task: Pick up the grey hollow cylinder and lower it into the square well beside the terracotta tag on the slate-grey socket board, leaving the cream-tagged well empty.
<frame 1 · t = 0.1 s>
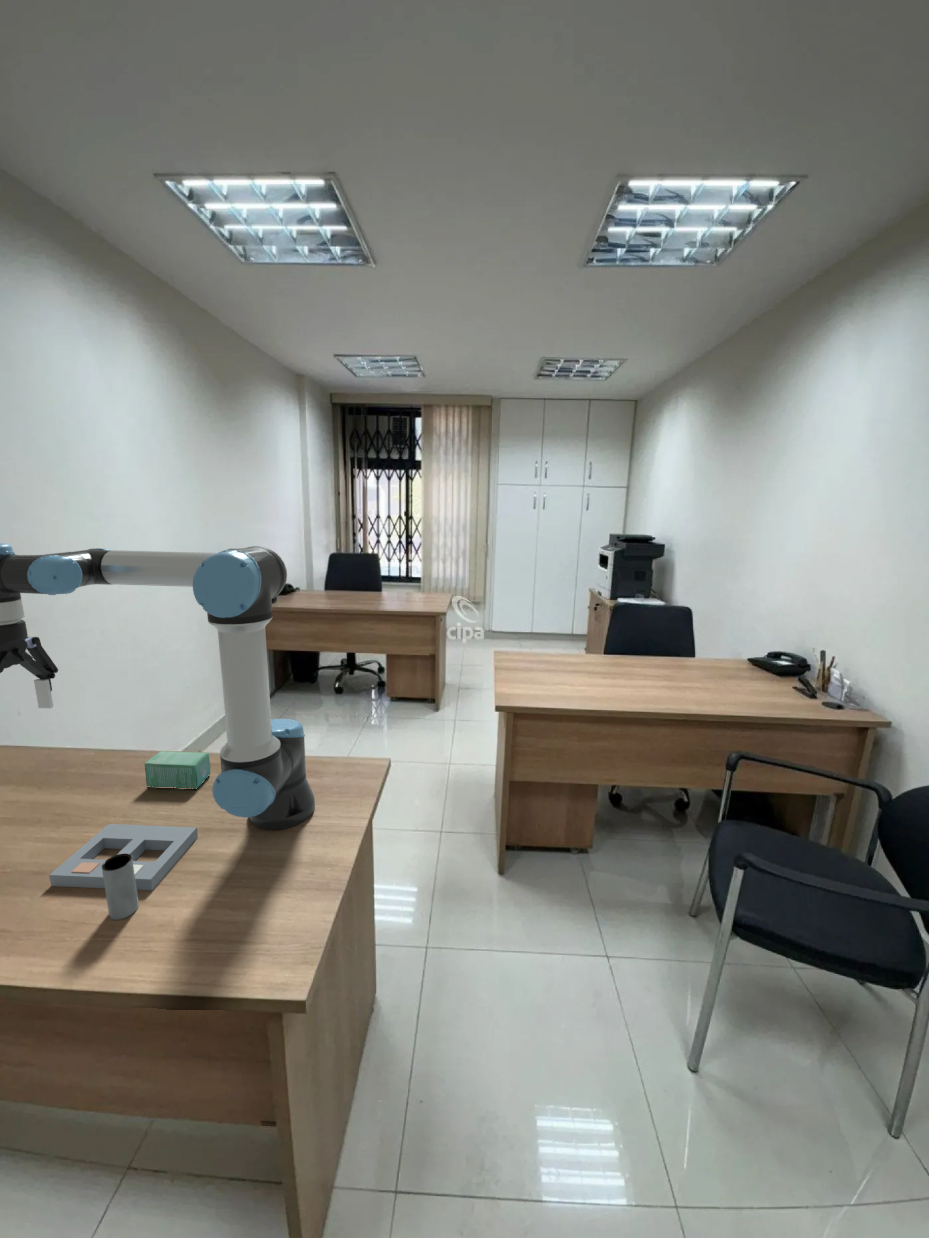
hand: (18, 720, 105), 28 cm above the table, fingers open, 13 cm apart
grey hollow cylinder: (124, 911, 93), on the table
socket board: (129, 859, 105), on the table
box: (180, 783, 135), on the table
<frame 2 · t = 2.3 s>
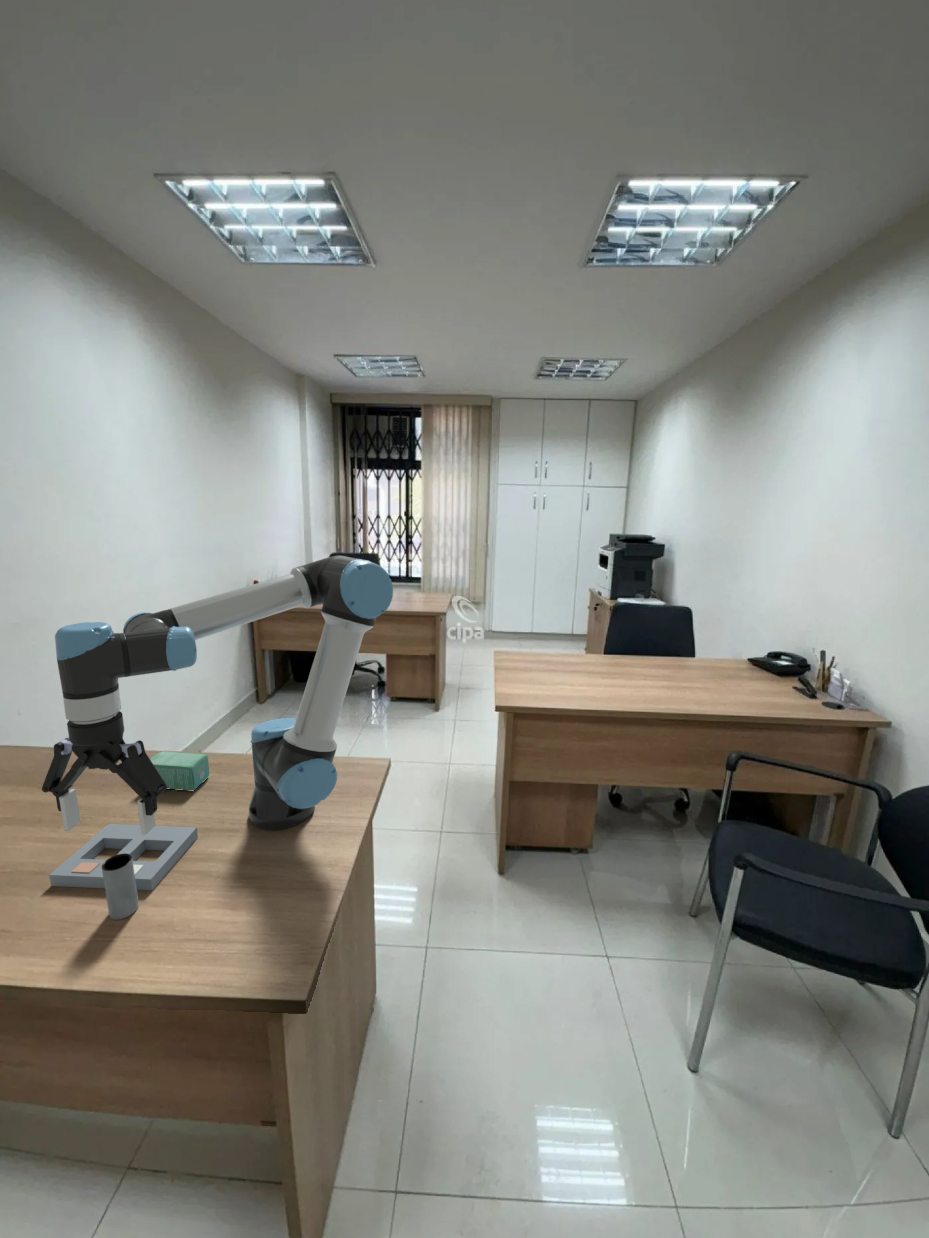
hand: (110, 828, 89), 17 cm above the table, fingers open, 13 cm apart
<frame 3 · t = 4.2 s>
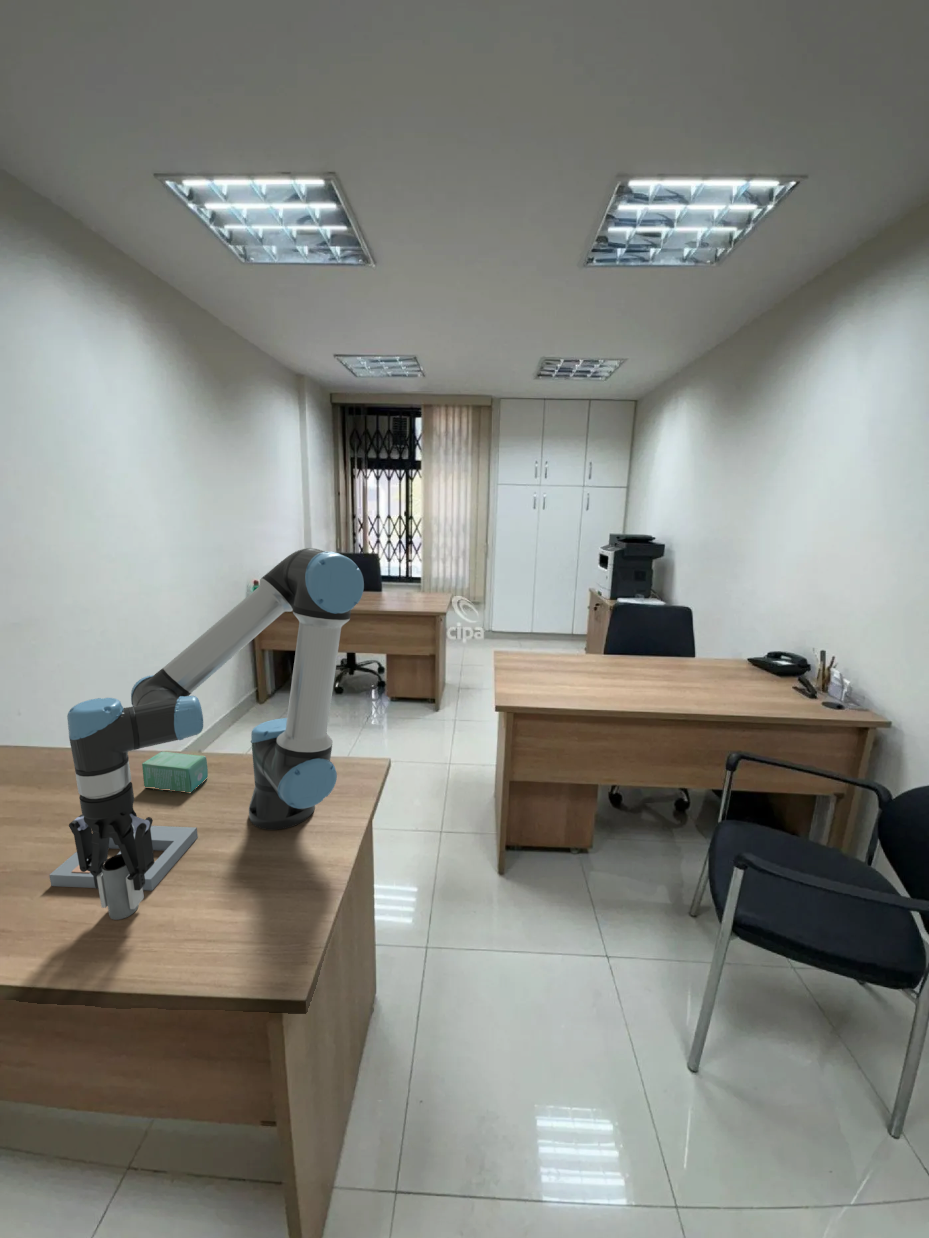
hand: (123, 902, 92), 2 cm above the table, fingers closed on grey hollow cylinder, 4 cm apart
grey hollow cylinder: (124, 911, 93), on the table, touching gripper
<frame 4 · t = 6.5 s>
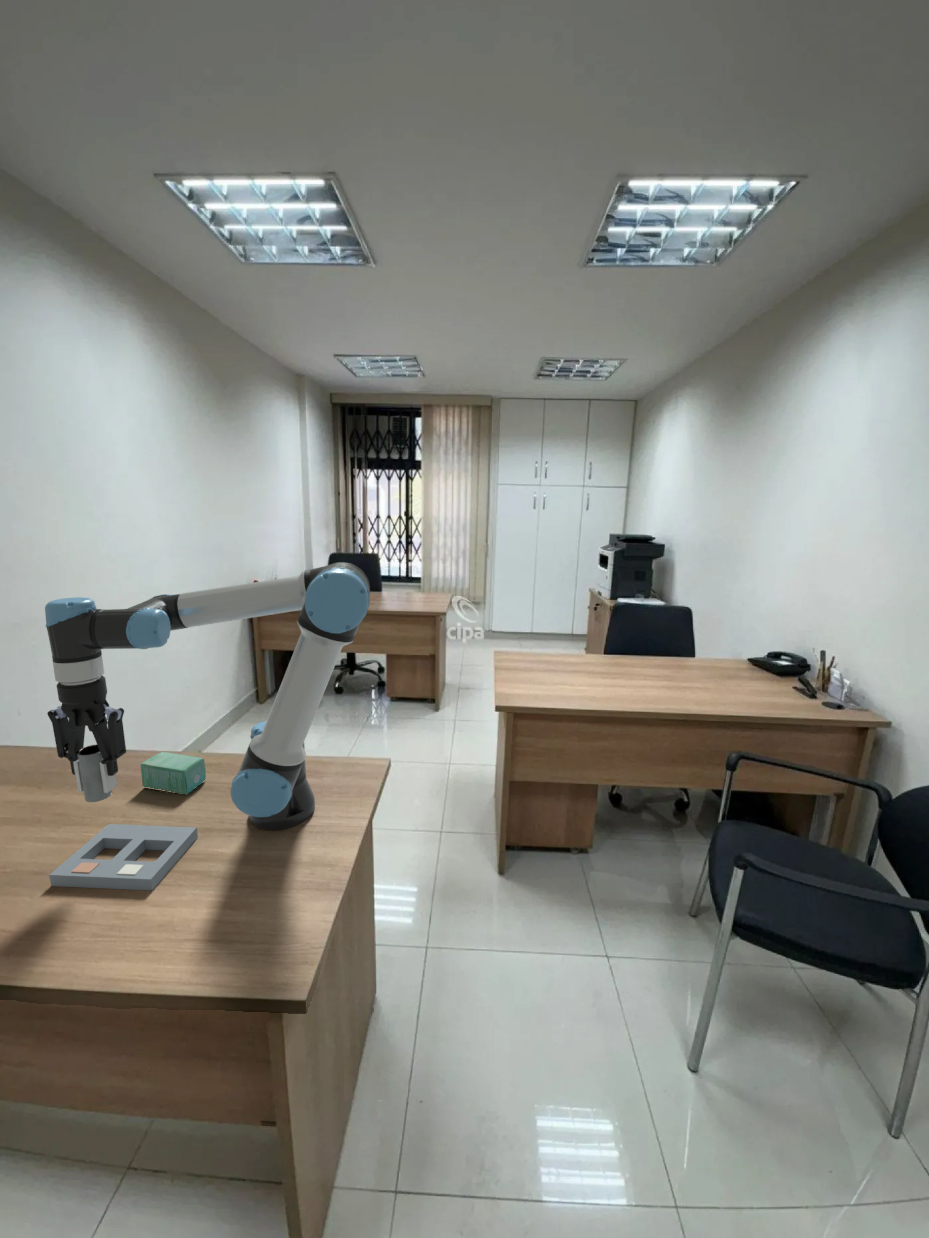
hand: (97, 788, 101), 17 cm above the table, fingers closed on grey hollow cylinder, 4 cm apart
grey hollow cylinder: (98, 797, 102), point 15 cm above the table, touching gripper
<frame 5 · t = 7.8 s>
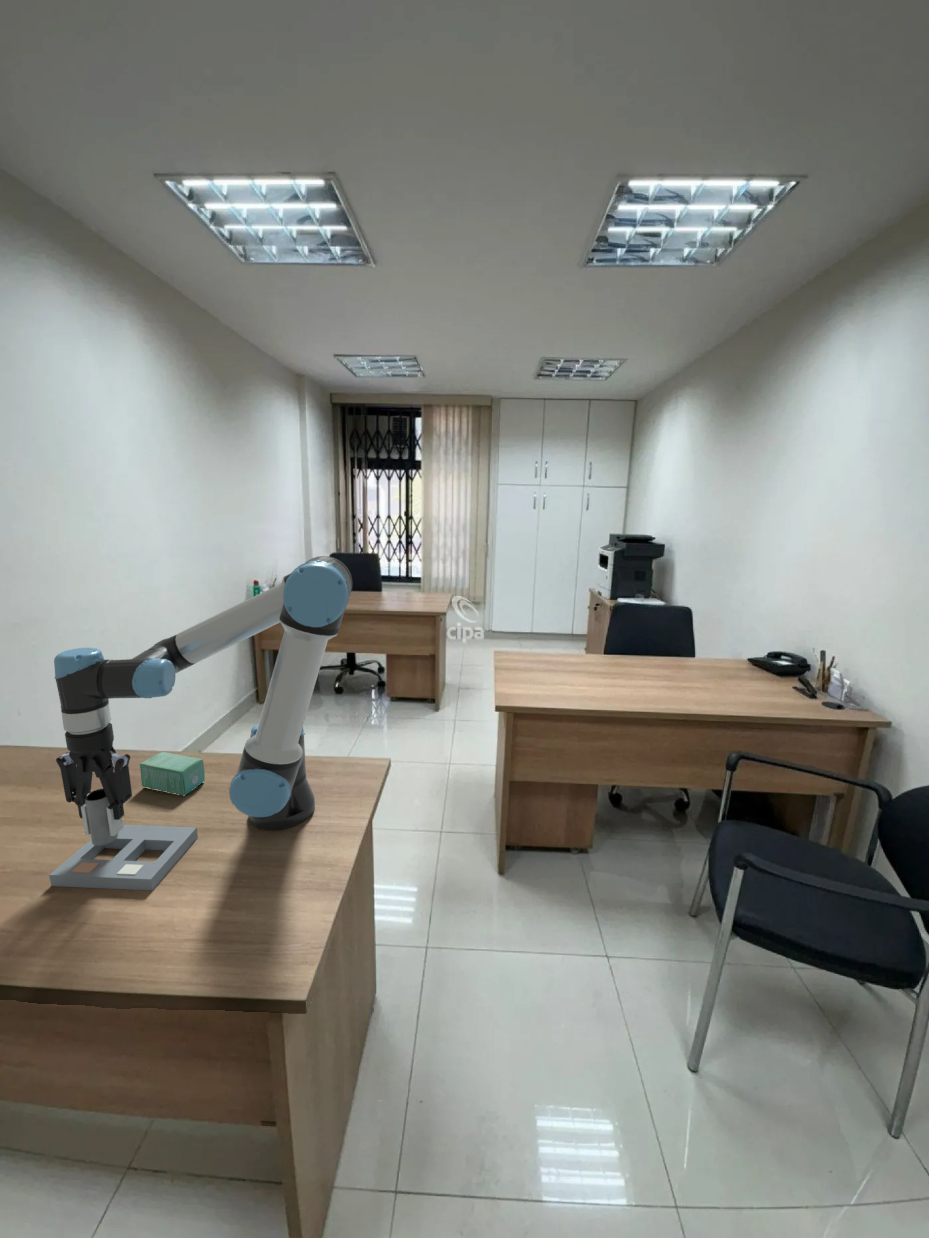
hand: (104, 831, 104), 7 cm above the table, fingers closed on grey hollow cylinder, 4 cm apart
grey hollow cylinder: (105, 839, 104), point 5 cm above the table, touching gripper
when the fingers open (3 cm above the table, at t = 8.6 s): grey hollow cylinder drops 2 cm, resting in socket board.
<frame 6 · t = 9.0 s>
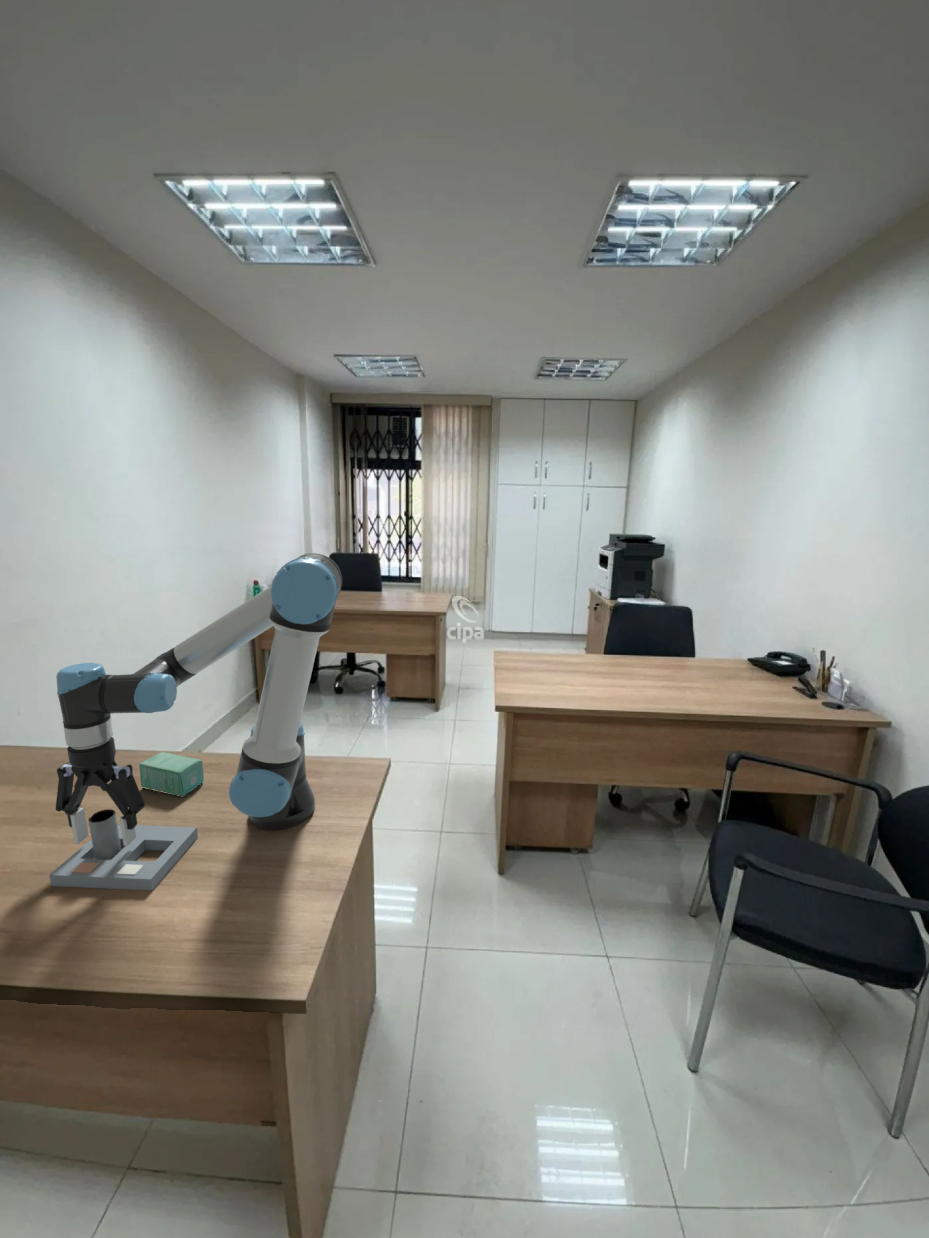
hand: (105, 840, 105), 4 cm above the table, fingers open, 9 cm apart
grey hollow cylinder: (108, 860, 105), resting in socket board
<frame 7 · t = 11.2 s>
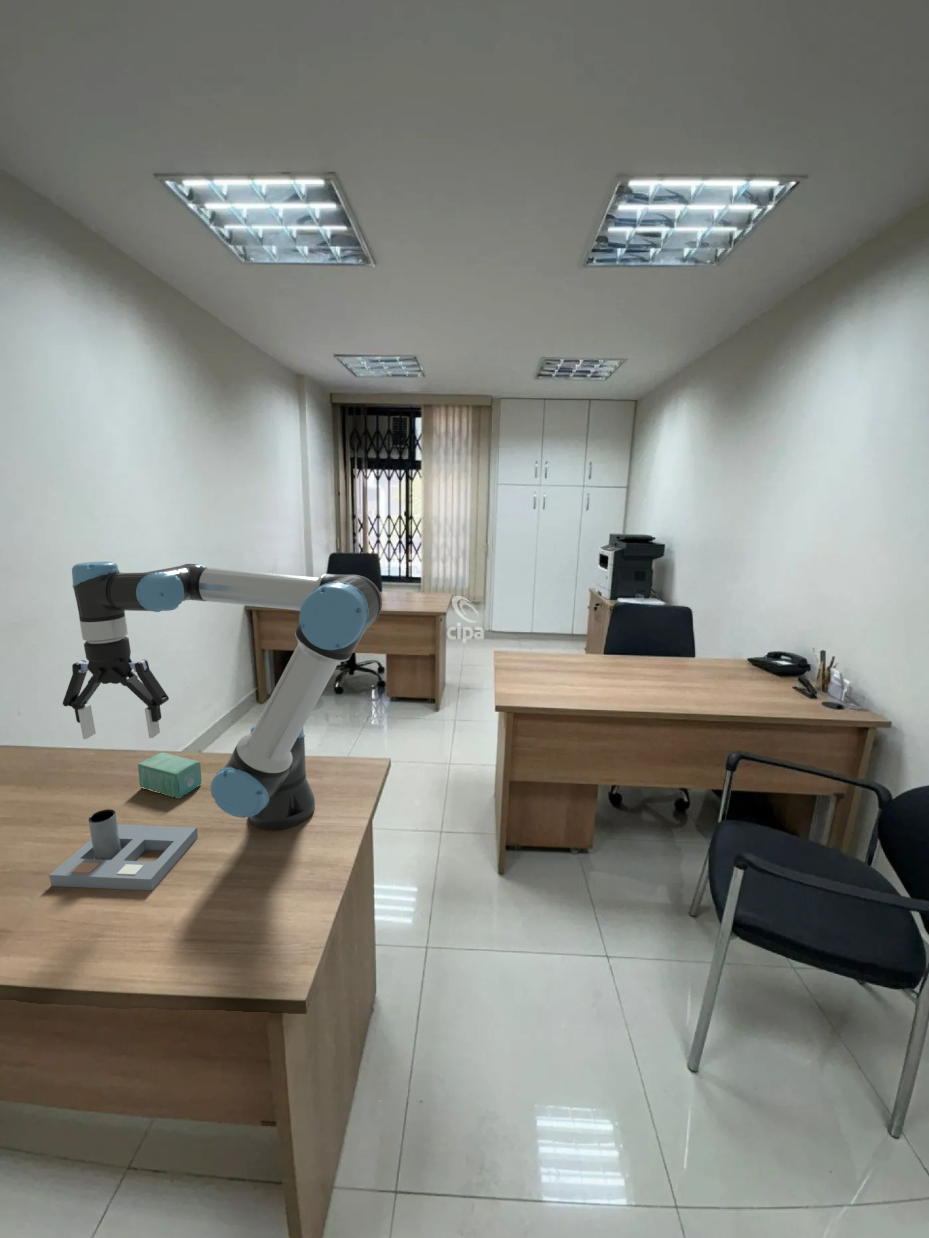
hand: (122, 735, 107), 25 cm above the table, fingers open, 13 cm apart
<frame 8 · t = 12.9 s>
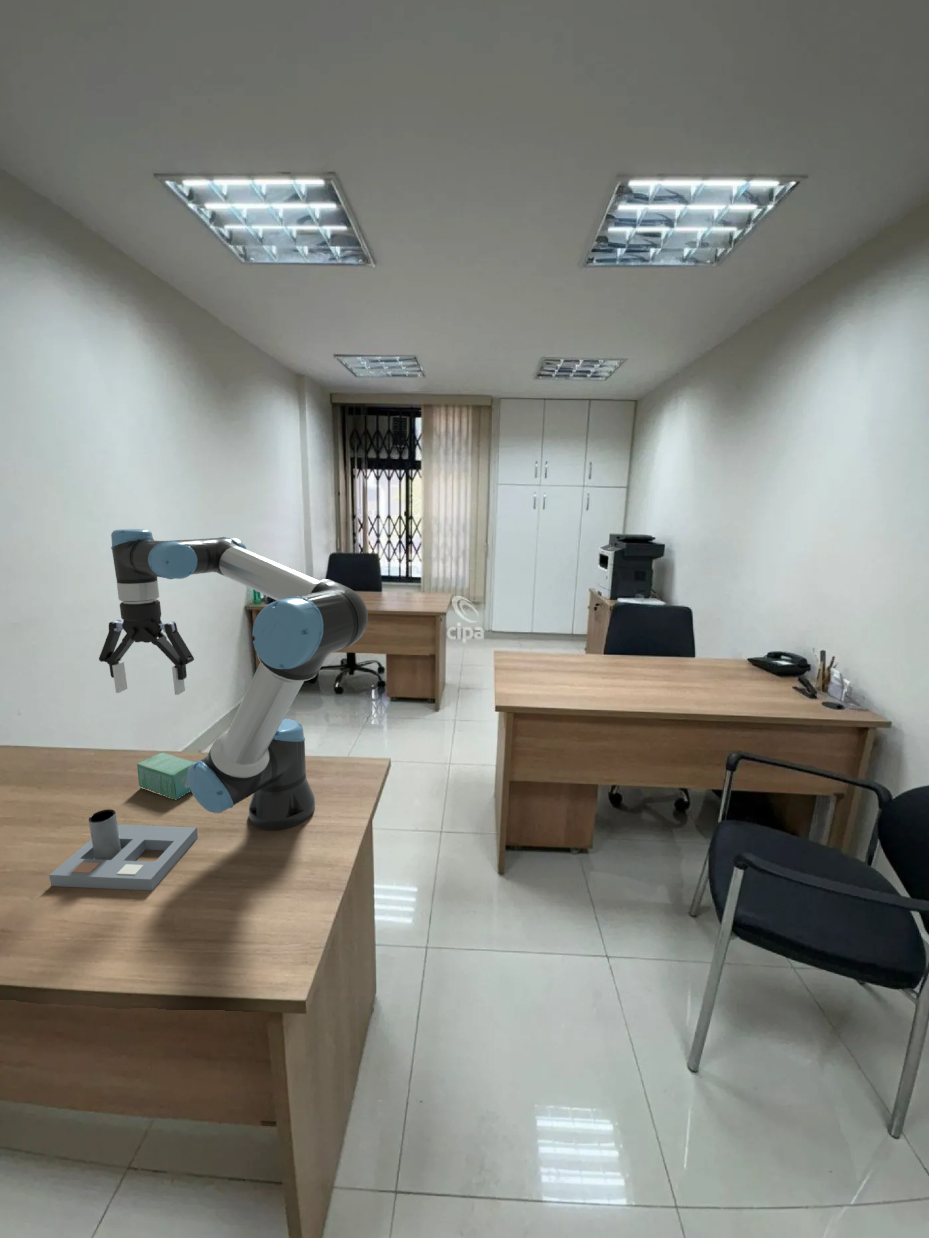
hand: (150, 691, 115), 31 cm above the table, fingers open, 13 cm apart
at the end: grey hollow cylinder 0.0 cm from the target spot on the socket board, point 0.0 cm above the socket board's base; grey hollow cylinder tilted 0°; the gripper is holding nothing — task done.
